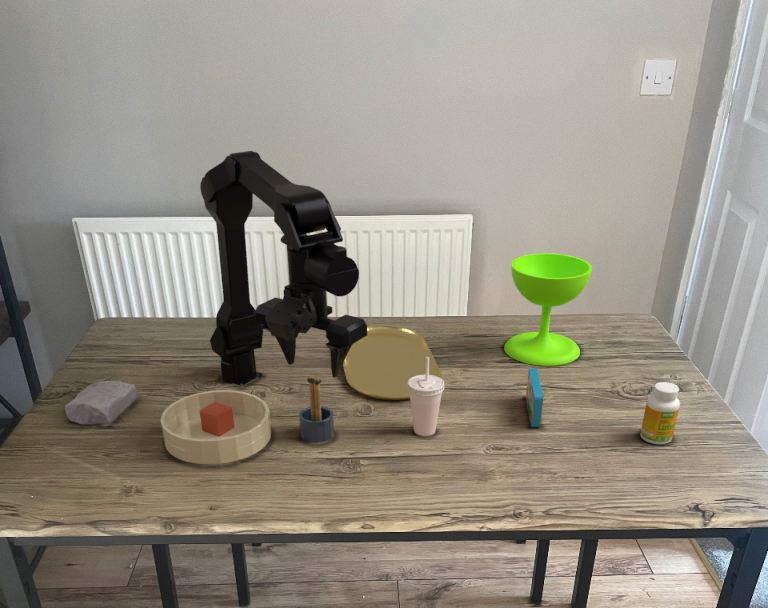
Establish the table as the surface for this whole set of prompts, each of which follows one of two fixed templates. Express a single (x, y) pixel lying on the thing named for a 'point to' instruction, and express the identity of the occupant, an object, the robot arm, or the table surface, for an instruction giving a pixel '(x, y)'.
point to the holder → (316, 426)
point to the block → (217, 419)
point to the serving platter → (387, 362)
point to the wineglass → (547, 305)
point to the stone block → (101, 402)
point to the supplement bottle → (661, 414)
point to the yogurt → (534, 397)
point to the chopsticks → (315, 398)
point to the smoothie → (425, 401)
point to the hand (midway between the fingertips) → (313, 370)
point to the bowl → (207, 448)
